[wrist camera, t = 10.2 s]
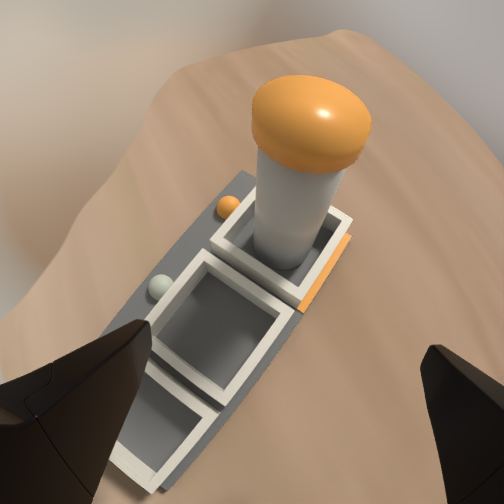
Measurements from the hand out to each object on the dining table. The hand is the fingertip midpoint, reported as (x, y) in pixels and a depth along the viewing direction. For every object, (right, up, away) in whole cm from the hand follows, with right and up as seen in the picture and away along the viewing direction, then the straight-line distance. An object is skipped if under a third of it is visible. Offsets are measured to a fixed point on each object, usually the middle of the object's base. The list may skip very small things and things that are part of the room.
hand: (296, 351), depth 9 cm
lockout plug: (+1, +4, +13) cm, 13 cm away
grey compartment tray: (-4, -2, +11) cm, 12 cm away
